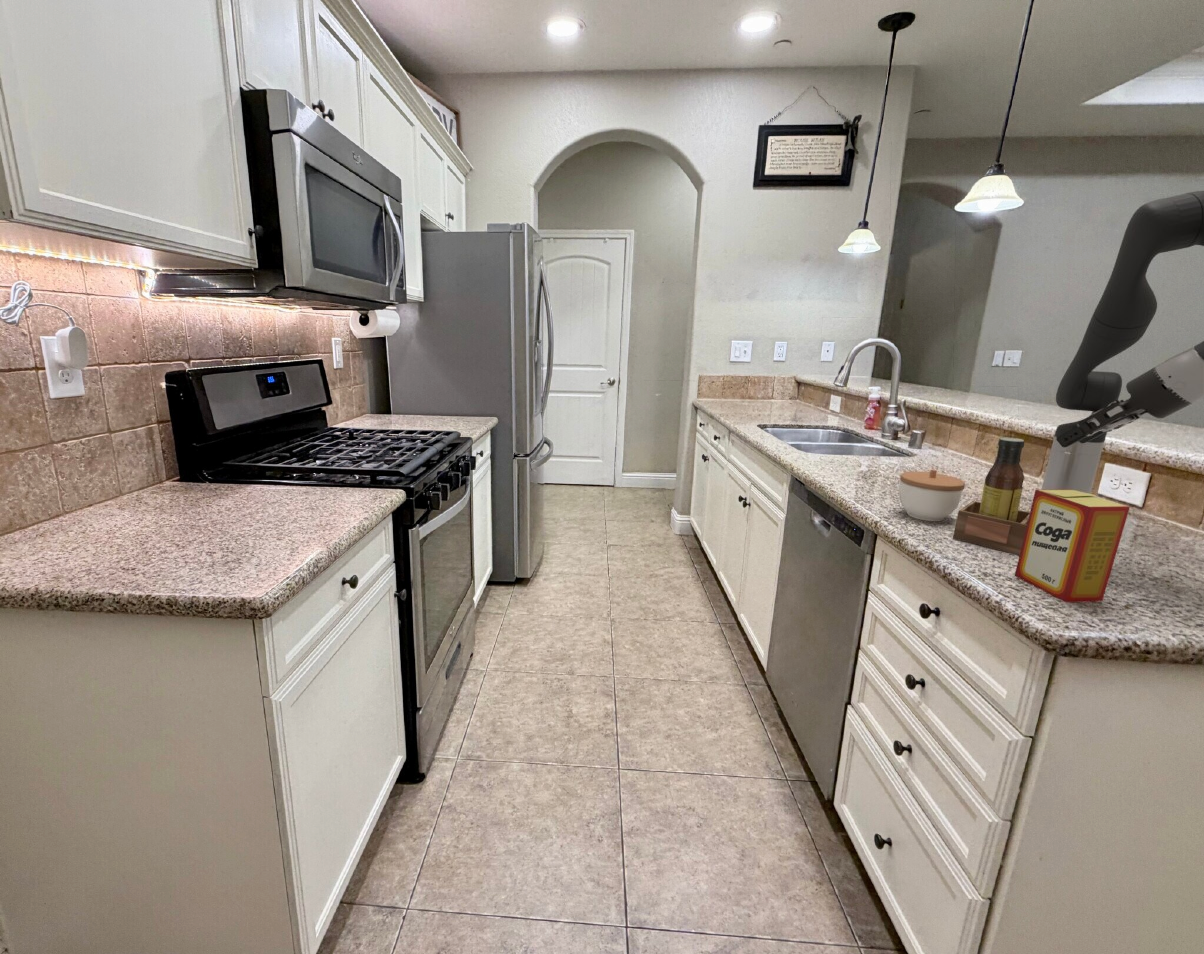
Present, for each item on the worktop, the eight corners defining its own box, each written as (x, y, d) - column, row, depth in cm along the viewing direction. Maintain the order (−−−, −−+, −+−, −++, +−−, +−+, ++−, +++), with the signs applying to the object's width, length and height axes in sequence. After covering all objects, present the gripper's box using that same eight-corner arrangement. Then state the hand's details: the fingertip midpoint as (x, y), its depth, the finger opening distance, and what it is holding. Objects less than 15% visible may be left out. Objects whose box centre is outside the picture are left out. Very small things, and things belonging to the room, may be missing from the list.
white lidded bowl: (939, 529, 116) (948, 479, 113) (883, 512, 127) (890, 466, 124) (968, 520, 123) (978, 473, 120) (912, 504, 133) (920, 461, 130)
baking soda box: (1102, 601, 86) (1130, 504, 81) (1065, 602, 85) (1091, 504, 81) (1048, 575, 95) (1071, 487, 91) (1014, 575, 94) (1036, 487, 90)
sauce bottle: (1000, 530, 113) (1022, 436, 108) (1019, 541, 107) (1043, 442, 102) (967, 528, 114) (987, 435, 109) (984, 539, 108) (1006, 441, 103)
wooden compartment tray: (967, 526, 118) (972, 500, 117) (1092, 556, 104) (1101, 526, 102) (952, 538, 111) (958, 510, 109) (1085, 572, 96) (1093, 540, 95)
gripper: (1171, 364, 91) (1069, 422, 103) (1144, 365, 84) (1038, 427, 96) (1206, 400, 88) (1098, 454, 100) (1182, 403, 81) (1068, 462, 93)
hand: (1069, 441), depth 98 cm, fingers open, 8 cm apart
